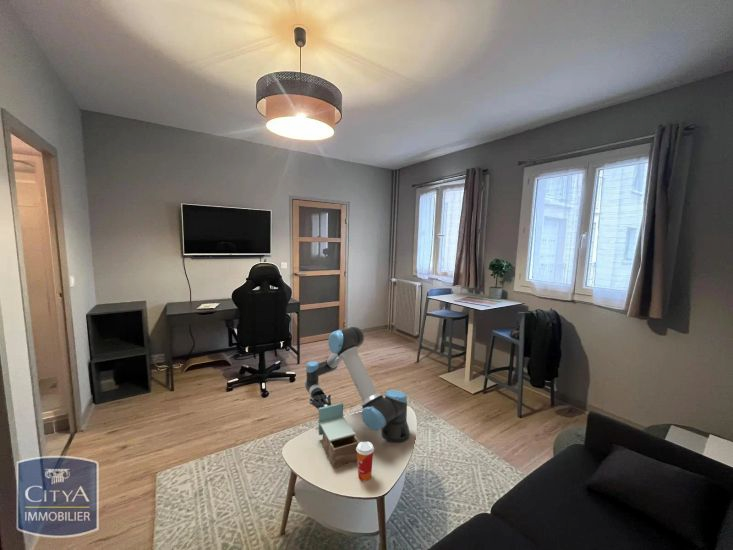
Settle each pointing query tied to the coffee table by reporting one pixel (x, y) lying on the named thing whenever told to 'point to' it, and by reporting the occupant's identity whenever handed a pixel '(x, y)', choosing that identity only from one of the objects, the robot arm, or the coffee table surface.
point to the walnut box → (341, 450)
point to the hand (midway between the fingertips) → (328, 412)
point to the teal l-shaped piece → (334, 423)
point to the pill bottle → (364, 460)
